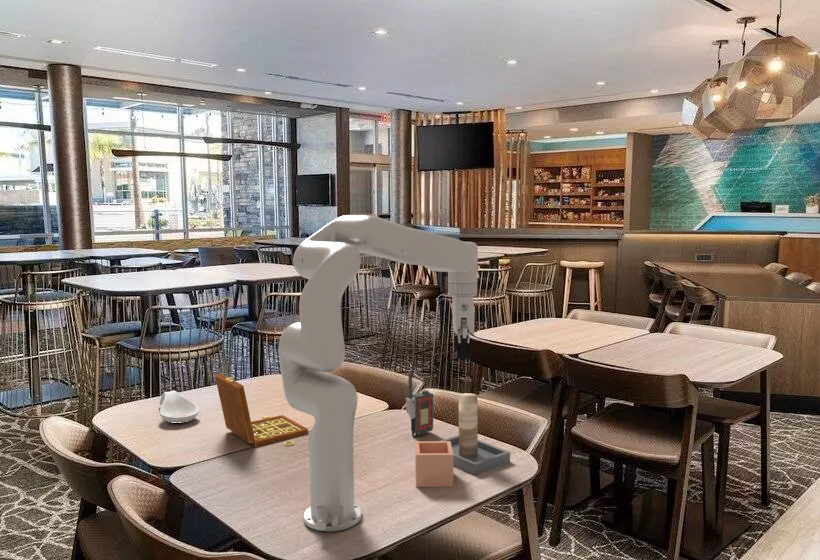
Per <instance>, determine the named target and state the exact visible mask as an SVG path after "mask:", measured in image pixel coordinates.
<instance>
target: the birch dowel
mask: <svg viewBox="0 0 820 560" xmlns="http://www.w3.org/2000/svg"><path fill="white" fill-rule="evenodd" d="M478 417H479V416H478V395H477V394H475V393H471V392H470V393H466V392H465V393H461V394H458V435H459V455H460V456H461V457H465V458H473V457H476V456H477V455H478V440H479V439H478V437H479V435H478V434H479V432H478V429H479V428H478V427H479V426H478V424H479V423H478V419H479V418H478Z"/></svg>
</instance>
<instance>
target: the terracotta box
mask: <svg viewBox="0 0 820 560" xmlns="http://www.w3.org/2000/svg"><path fill="white" fill-rule="evenodd" d="M414 473H415V475H414V477H415V488H447V487H448V488H450V487H452V488H453V487H454V466H453V450H452V446H451V441H441V440H438V441H436V440H435V441H434V440H433V441H431V440H430V441H427V440H425V441H422V440H421V441H414Z"/></svg>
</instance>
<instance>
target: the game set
mask: <svg viewBox="0 0 820 560" xmlns="http://www.w3.org/2000/svg"><path fill="white" fill-rule="evenodd" d="M214 379H215V383H216V387H217V392H218V395H219V401H220V405H221V409H222V415H223V420H224V422H225V423H224V424H225V428H226V429H228V430H230V431H231V432H232V433H233V434H235V435H236V436H238V437H240V438H241V439H242V440H244V441H245V442H246V443H248V444H250V443H251V444H250V445H252V446H253V447H255V448H256V447H260V446H264V445H268V444H273V443H276V442H280V441H284V442H283V445H284V446H286V447H292V446H294V445H295V441H293V440H288V439H292V438H295V437H300V436H304V435H308V434H309V428H307V427H305V426H304V425H301V424H300V423H298V422H296V421H294V420H292V419H290V418H289V417H287V416H286V415H284V414H281V415H277V416H276V415H275V416H270V415H262V416H261V418H262V417H263V418H262V419H258V420H253V421H252V420H251V416H250V415H251V414H250V411H249V406H248V401H247V397H246V396H247V395H246V392H245V386H244V385H243V384H241V383H239V382H237V381H236V380H234V377H233V376H230V377H228V376H226V375H224V374H223V373H218V374H215V375H214ZM269 416H270V417H269ZM265 424H266V425H265ZM257 426H258V427H257ZM253 428H254V429H253ZM256 432H258V433H257V434H256V435H254V433H256ZM285 440H286V441H285Z"/></svg>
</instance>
